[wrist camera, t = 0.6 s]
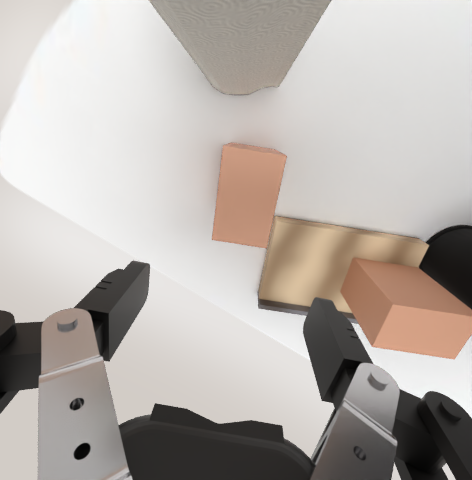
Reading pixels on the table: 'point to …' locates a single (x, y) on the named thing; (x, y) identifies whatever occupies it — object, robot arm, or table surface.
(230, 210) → the carton
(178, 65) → the table surface
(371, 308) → the carton faced
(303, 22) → the paper towel roll
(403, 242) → the tan flat block
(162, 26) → the table surface
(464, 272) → the aerosol can
